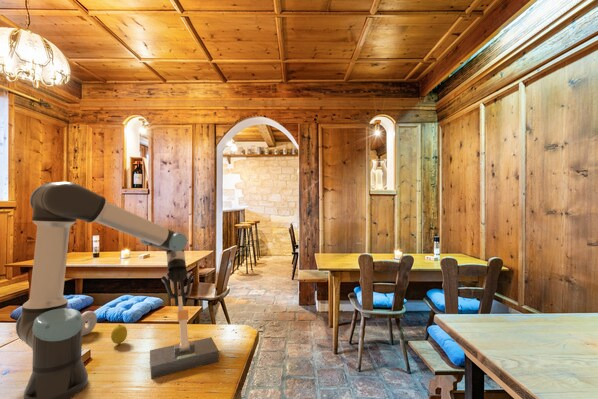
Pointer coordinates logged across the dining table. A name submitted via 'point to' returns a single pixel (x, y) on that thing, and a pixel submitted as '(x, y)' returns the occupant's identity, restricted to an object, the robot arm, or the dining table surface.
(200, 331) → the dining table surface
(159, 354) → the box
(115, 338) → the lemon
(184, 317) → the lever
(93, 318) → the donut
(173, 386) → the dining table surface
